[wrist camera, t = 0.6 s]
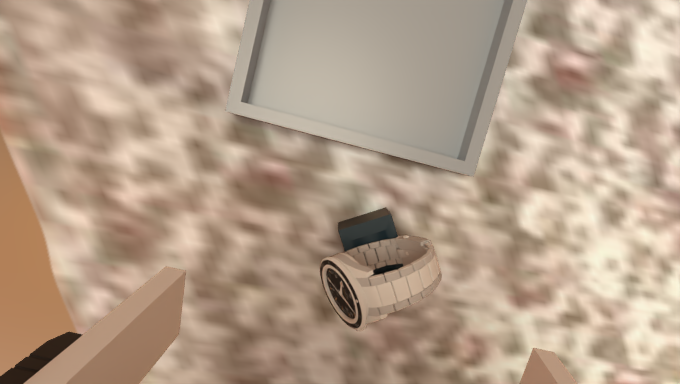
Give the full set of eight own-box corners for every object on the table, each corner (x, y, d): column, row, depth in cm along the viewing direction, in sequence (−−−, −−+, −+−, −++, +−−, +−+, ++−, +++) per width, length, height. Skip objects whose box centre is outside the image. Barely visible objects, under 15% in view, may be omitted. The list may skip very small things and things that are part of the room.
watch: (316, 229, 32) (305, 271, 21) (405, 201, 32) (439, 229, 21) (336, 288, 33) (335, 358, 22) (423, 261, 33) (466, 318, 22)
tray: (462, 174, 32) (473, 176, 29) (234, 114, 31) (225, 111, 29) (528, -44, 30) (545, -61, 27) (284, -113, 29) (279, -138, 27)
